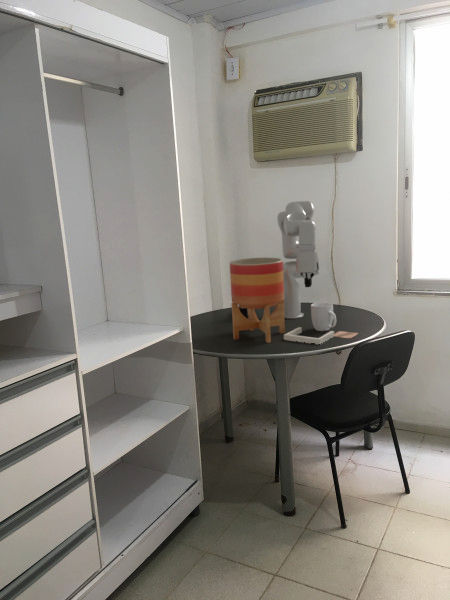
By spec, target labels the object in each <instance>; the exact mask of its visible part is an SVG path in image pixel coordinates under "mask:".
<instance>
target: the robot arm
mask: <svg viewBox="0 0 450 600" xmlns="http://www.w3.org/2000/svg"><path fill="white" fill-rule="evenodd" d="M314 213H315V208H314V205H313V202H311V201H310V200H299V201H291V202H288V204H286V206H285V210H283V211H280V212H278V214H277V225H278V228H279V230H280V233H281V244H282V245H281V246H282V256H283V257H284V259H286V260H291V261H284V262H283V279H284V319H300V318H303V317H304V312H301V311H302V309H301V308H302V307H301V305H302V304H301V285H300V283H299V282H298V281H297V280H296V279H299V278H300V279H301V278H303V279H304V287H305V288H310V287H312V283H313V277H315V276H317V275H319V274H320V273H319V270H320V262H319V256H318V250H316V228H317V227H316V223H315V222H314V220H312V218H313V216H314Z"/></svg>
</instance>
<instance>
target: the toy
mask: <svg viewBox="0 0 450 600" xmlns="http://www.w3.org/2000/svg"><path fill="white" fill-rule="evenodd" d="M238 307H239V306H238ZM239 310H240V312H241V313H242V315H243V316H244V317H246V318H247V319H249V315H248V309H247V308H242V307H239ZM254 310H256V309H254Z"/></svg>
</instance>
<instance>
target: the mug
mask: <svg viewBox="0 0 450 600" xmlns="http://www.w3.org/2000/svg"><path fill="white" fill-rule="evenodd" d="M310 316H311V317H310V319H311V323H312V326H313V327H314V330H316V331H317V332H327V331H328V332H329V330H330V329H331V328H334V327H335V326H336V325H337V316H336V313H334V304H333V303H330V302H314V303H312V304H310Z"/></svg>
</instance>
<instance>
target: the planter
mask: <svg viewBox="0 0 450 600" xmlns="http://www.w3.org/2000/svg"><path fill="white" fill-rule="evenodd" d="M283 263H284V259H282V258H279V257H267V256H265V257H249V258H239V259H235V260H231V261H230V262H229V275H230V276H229V277H230V296H231V314H232V315H231V316H232V335H233V338H232V339H233V340H236V341H237V340H240V331H247V330H249V331H250V332H253V331H254V330H256V329H259V330H260V331H261V332H263V333H265V342H266V343H268V344H269V343H272V335H271V334H272V333H271V331H272V330H271V327H277V326H278V332H279V333H280V334H286V324H285V322H286V321H285V318H284V279H283ZM239 307H242V308H247V309H248V315H249V317H248V319H247V318H246V317H244V316H243V315H242V313H241V312H240V310H239ZM273 307H275V308H274V309H273V311H272V312H270V311H271V309H270V308H273ZM254 309H255V310H259V309H263V314H262V315H263V316H262V318H261V320H260V319H259V318H258V316H257V313H256V311H255V310H254Z"/></svg>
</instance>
